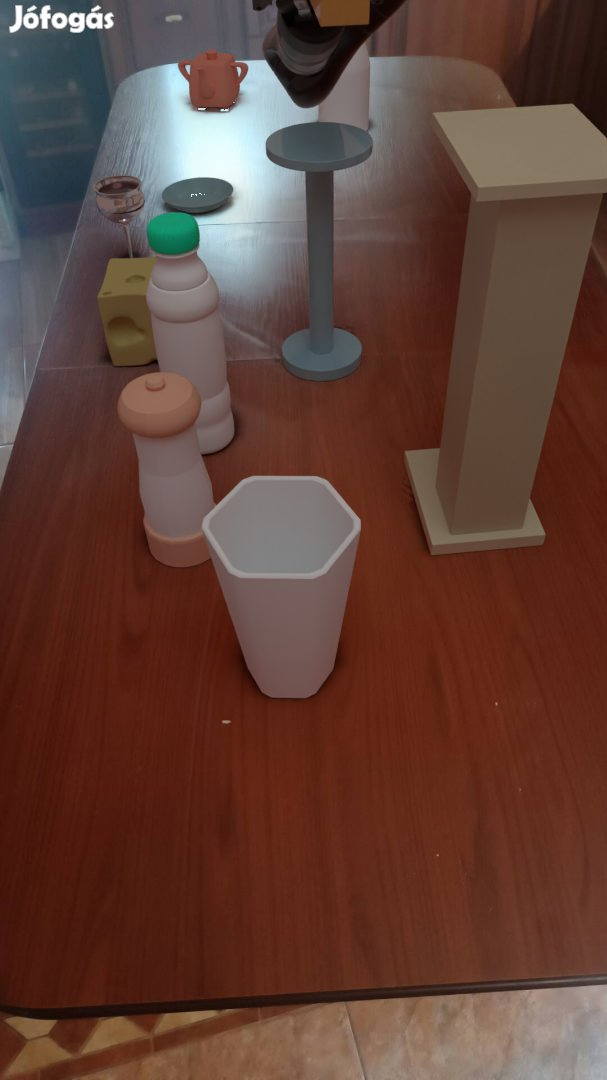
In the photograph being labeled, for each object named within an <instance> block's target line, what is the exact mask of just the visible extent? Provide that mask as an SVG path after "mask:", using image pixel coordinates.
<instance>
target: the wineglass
mask: <svg viewBox="0 0 607 1080" xmlns="http://www.w3.org/2000/svg"><path fill="white" fill-rule="evenodd" d="M141 186H142V181H141V179H140V178H138V177H137V176H134V175H127V174H117V175H110V176H107V177H103V178H101V179H99V180H97V181H96V182H95V183H94V184H93V186H92V188H93V191H94V192H95V194H96V195H95V204H96V207H97V209H98V211H99V214H100V215H102V217H104V218H105V219H107V220H108V221H110V222H111V223H114V224H118V225H119V226H120V227H122V230H123V234H124V238H125V242H126V247H127V251H128V252H127V253H128V255H129V258H134V256H133V249H132V245H131V244H132V243H131V236H130V230H129V225H130V224H131V223H132V222H133V221H135V220H137V219H138V218H139V217H140V215H141V214H142V212H143V211H144V207H145V203H146V199H145V195H144V194H145V193H144V192H143V190H142V189H141Z"/></svg>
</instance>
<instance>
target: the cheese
mask: <svg viewBox="0 0 607 1080" xmlns="http://www.w3.org/2000/svg"><path fill="white" fill-rule="evenodd" d="M155 262H156V256H152V257H151V256H150V257H149V256H148V257H133V258H130V257H127V258H126V257H124V258H123V257H122V258H121V257H120V258H118V257H115V258H113V257H112V258H109V261H108V263H107V266H106V270H105V271H106V272H105V275H104V279H103V282H102V285H101V287H100V289H99V292H98V293H97V297H96V298H97V304H98V312H99V315H100V316H99V317H100V319H101V324H102V327H103V333H104V336H105V337H104V338H105V342H106V346H107V349H108V352H109V356H110V359H111V362H112V364H113V367H131V366H132V367H133V366H145V365H148V364H151V363H152V362H153V361H158V359H157V354H156V348H155V343H154V336H153V329H152V320H151V312H150V310H149V308H148V305H147V301H146V291H147V287H148V284H149V281H150V278H151V273H152V269H153V266H154V264H155Z"/></svg>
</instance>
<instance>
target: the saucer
mask: <svg viewBox="0 0 607 1080" xmlns="http://www.w3.org/2000/svg"><path fill="white" fill-rule="evenodd" d="M199 193H201V194H202V195H201V194H199ZM233 193H234V187H233V185H232V184H231V183H230V182H229V181H227V180H224V179H222V178H217V177H210V176H209V177H208V176H207V177H205V176H203V177H201V176H199V177H191V178H186V179H181V180H178V181H175V182H173V183H171V184H170V185H168V186H166V187H165V188H164V189H163V191H162V193H161V199H162V200H163V201H164V202H165V203H166V204H168V205H169V206H170V207H172V208H174V209H176V210H178V211H180V212H182V213H187V214H202V213H208V212H211V211H213V210H215V209H218V208H220V207H221V206H222V205H223V204H225V203H226V202H227V201H228V200H229V199H230V197H231V196H232V194H233ZM191 194H194V195H192V197H191ZM195 194H197V196H196V195H195ZM204 194H205V195H204Z"/></svg>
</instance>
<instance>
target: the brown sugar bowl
mask: <svg viewBox="0 0 607 1080" xmlns="http://www.w3.org/2000/svg"><path fill="white" fill-rule="evenodd" d="M187 66H189V71H188V70H187V68H186V67H187ZM177 68H178V71H179V72H180V74H181V75H182V77H183V78H184V79H185V81H186V82H187V83H188V94H189V99H190V102H191V104H192V106H194V107H197V108H206V107H207V108H219V110H220V109H224V110H225V109H228V108H229V109H230V107H231V105H233V104H232V103H233V102H235V101H237V99H238V97H239V94H240V89H241V84H242V82H243V81H244V80H245V78H246V77H247V75H248V73H249V65H248V64H247V63H246V62H243V61H236V59H235V55H234V54H233V53H228V52H218V51H217V49H208V50H206V51H205V52H201V53H199V54H197V56H194V58H193V59H192V60H190V59H189V60H188V59H182V60H179V62H178V63H177ZM238 68H239V69H240V73H239V70H238Z"/></svg>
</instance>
